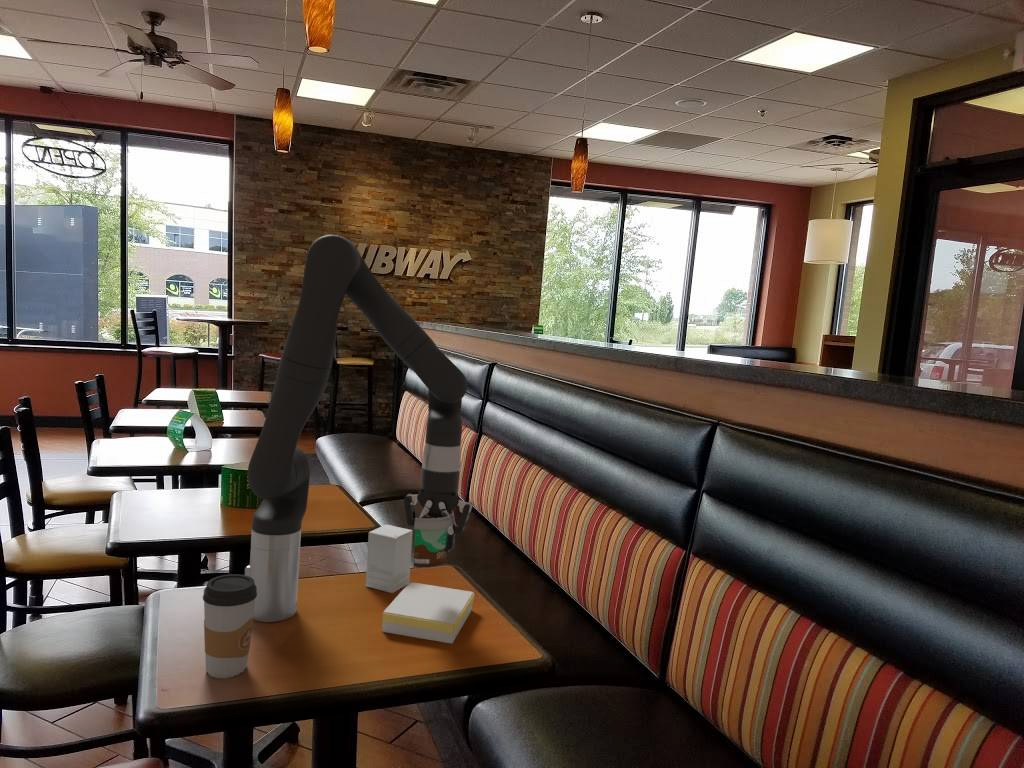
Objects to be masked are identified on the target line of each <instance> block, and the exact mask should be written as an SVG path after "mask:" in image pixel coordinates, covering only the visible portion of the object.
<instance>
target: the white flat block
mask: <svg viewBox="0 0 1024 768" xmlns="http://www.w3.org/2000/svg"><path fill="white" fill-rule="evenodd" d="M474 600H475V592H473V591H470V590H463V589H462V590H461V589H455V588H451V587H443V586H437V585H432V584H425V583H418V582H413V581H409V584H407V585H406V586H404V587H403V588H402V591H400V592H399V593H398V595H397V596H396V597H395V598H394V599H393V600H392V602H390V604H389V605H388V606H387V607H386V608H385V609H384V611H383V612H382V619H381V620H382V628H381V632H382V633H388V634H393V635H401V636H406V637H411V638H416V639H422V640H423V639H424V640H429V641H433V642H434V641H436V642H440V643H445V644H451V645H452V644H453V643H454V641H455V639H456V638H457V636H458V634H459V633H460V631H461V629H462V627H464V625H465V622H466V620H467V619H468V617H469V615H470V614H471V612H472V611H471V610H472V609H473V603H474Z"/></svg>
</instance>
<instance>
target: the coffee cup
mask: <svg viewBox="0 0 1024 768" xmlns="http://www.w3.org/2000/svg"><path fill="white" fill-rule="evenodd" d="M256 590H257V587H256V585H255V582H254V579H253V578H251V577H249V576H246V575H245V574H240V573H239V574H238V573H236V574H234V573H233V574H223V575H219V576H215V577H213V578H211V579H209V580H208V581H207V583H206V587H204V589H203V595H202V600H203V605H204V606H203V608H204V609H203V611H204V612H203V613H204V616H203V617H204V620H203V628H204V629H203V635H204V653H205V670H206V672H207V674H208V675H209V676H210V677H212V678H214V677H215V679H230V678H229V677H231V678H234V677H233V676H235V675H237V674H239V673H241V672H242V671H243V670H244V669H245V670H246V668H247V667H248V660H249V652H250V648H251V642H252V641H251V640H252V632H253V625H254V620H253V614H254V606H255V598H256V596H257V592H256ZM245 670H244V671H245ZM244 671H243V672H244ZM243 672H242V673H243ZM242 673H241V674H242ZM239 675H240V674H239ZM237 676H238V675H237ZM235 677H236V676H235Z"/></svg>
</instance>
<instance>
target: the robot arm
mask: <svg viewBox="0 0 1024 768" xmlns="http://www.w3.org/2000/svg"><path fill="white" fill-rule="evenodd" d="M303 271H304V273H303V280H302V286H301V292H300V296H299V302H298V306H297V309H296V312H295V315H294V317H293V320H292V322H291V325H290V328H289V331H288V334H287V338H286V341H285V343H284V347H283V349H282V353H281V357H280V361H279V365H278V368H277V373H276V378H275V382H274V387H273V390H272V394H271V396H270V399H269V400H270V401H269V403H268V407H267V408H268V409H267V411H266V415H265V420H264V423H263V426H262V429H261V431H260V435H259V437H258V440H257V442H256V445H255V447H254V449H253V453H252V455H251V457H250V460H249V463H248V467H247V473H246V474H247V476H246V477H247V483H248V486H249V489H250V490H251V492H252V493H253V494H254V496H256V497H258V498H260V499H262V501H261V503H260V505H259V507H258V508H257V509H256V510H255V512H254V514H253V515H252V519H251V520H252V522H251V538H250V555H249V556H250V557H249V564H248V565H246V566H245V568H244V575H246V576H249V577H251V578H253V579H254V582H255V585H256V587H257V590H256V592H257V596H256V598H255V606H254V614H253V621H256V622H262V623H263V622H264V623H271V622H272V623H275V622H281V621H284V620H285V621H286V620H288V619H290V618H292V617H294V616H295V614H296V613H297V605H298V604H297V603H298V588H299V573H300V572H299V571H300V556H301V555H300V554H301V540H302V539H301V537H302V525H303V524H302V523H303V519H304V517H305V514H306V512H307V507H308V499H309V489H310V479H311V478H310V477H311V471H310V470H311V469H310V463H309V462H310V461H309V459H308V456H307V455H306V453H305V452H304V451H303V450H302V449H300V448H299V447H297V445H298V442H299V439H300V436H301V434H302V431H303V429H304V427H305V426H306V424H307V422H308V420H309V418H310V417H311V416H312V414H313V412H314V410H315V409H316V407H317V406H318V405H319V402H320V401H321V399H322V396H323V394H324V393H325V390H326V387H327V384H328V381H329V378H330V377H329V376H330V373H331V369H332V366H333V360H334V356H335V349H336V342H337V339H336V338H337V330H338V319H339V314H340V311H341V308H342V305H343V303H344V302H343V301H344V299H345V296H346V297H347V298H348V299H349V300H350V301H352V302H353V304H355V306H356V307H357V308H358V309H359V310H360V311H361V312H362V313H363V315H364V316H365V317H366V319H368V321H369V322H370V325H372V327H373V328H374V329H375V330H376V332H377V333H378V335H379V336H380V337H381V339H382V340H383V341H384V342H385V343H386V345H387V346H388V347H389V348H390V349H391V350H392V351H393V353H394V354H395V355H396V356H397V357H398V358H399V359H400V360H401V361H402V363H404V364H405V365H406V366H407V367H408V368H410V370H411V371H413V372H414V373H415V375H416V376H417V377H418V378H419V379H420V381H421V382H422V383H423V384H424V386H425V387H426V388H427V389H428V399H427V400H428V401H427V403H428V404H427V405H428V406H427V409H428V416H427V422H426V431H425V439H424V440H425V441H424V443H425V444H424V448H423V451H422V464H421V473H420V474H421V475H420V486H419V488H420V489H419V491H418V494H417V493H416V494H413V493H408V494H406V496H404V497H403V503H404V511H405V517H406V523H407V525H408V526H409V527H410V526H411V527H412V528H414V524H415V518H417V513H416V506H415V505H416V504H417V502H418V503H419V504H420V506H421V508H422V511H421V513H420V515H419V517H418V518H422V516H427V515H428V516H437V517H439V518H442V517H446V516H448V519H450V517H449V515H450V514H452V512H453V515H454V510H455V509H456V507H457V506H458V507H459V512H460V513H461V515H460V518H459V521H458V524H456V521H455V520H456V519H455V520H454V521H455V523H454V524H453V525H452V524H451V525H452V526H450V527H448V535H447V541H446V547H445V552H447V554H449V553H450V551H452V550H453V549H454V547H455V543H456V534H458V533H459V534H461V533H463V531H464V530H465V529H466V527H467V524H468V521H469V517H470V514H471V512H472V509H473V502H471V501H468V502H466V501H464V500H462V499H461V498H460V496H459V487H460V486H459V485H460V475H461V474H460V472H461V465H462V449H461V447H462V446H461V445H462V433H463V432H462V431H463V420H462V415H461V412H462V401H463V398H464V396H465V395H466V393H467V391H468V380H467V377H466V376H465V374H464V373H463V372H462V371H461V369H460V368H459V367H458V366H457V365H455V363H454V362H453V361H452V360H451V359H450V358H448V356H447V355H446V354H445V353H444V352H442V350H440V349H439V347H438V346H437V343H435V342H434V340H433V339H432V338H431V337H430V336H429V334H428V333H427V332H426V331H425V330H424V329H423V328H422V326H420V325H419V323H418V322H416V320H415V319H414V318H413V317H412V316H411V315H410V314H409V313H408V312H407V311H406V310H405V308H403V307H402V306H401V305H400V304H399V303H398V302H397V301H396V300H395V299H394V297H392V295H391V294H390V293H389V292H388V291H387V290H386V289H385V288H384V287H383V285H382V284H381V283H380V282H379V280H378V279H377V277H376V276H375V275H374V274H373V272H372V270H371V269H370V268H369V266H368V264H367V263H366V261H365V260H364V258H363V257H362V255H361V253H360V251H359V248H358V247H357V246H356V245H355V244H354V243H353V241H351V240H350V239H348V238H347V237H344V236H341V235H337V234H326V235H323V236H321V237H318V238H317V239H315V240H314V241H313V242H312V244H311V245H310V246H309V248H308V250H307V254H306V256H305V264H304V270H303ZM454 516H455V515H454ZM450 523H451V522H450Z"/></svg>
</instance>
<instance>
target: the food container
mask: <svg viewBox="0 0 1024 768" xmlns="http://www.w3.org/2000/svg"><path fill="white" fill-rule="evenodd" d="M453 514H454V511H453V512H452V514H450V515H449V517H450V519H448V516H446V517H442V518H439V517H437V516H428V515H427V516H422V518H419V517H416V518H415V524H414V527H413V529H414V543H413V544H414V550H413V568H414V567H415V568H432V567H433V568H435V567H439V566H441V565H444V564H445V563H446V561H447V557H448V556H447V555H448V552H445V547H446V541H447V535H448V527H450V526H452V525H453V524H454V523H455V524H456V521H454V520H456V519H455V515H453ZM450 522H451V523H450ZM451 524H452V525H451Z"/></svg>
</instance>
